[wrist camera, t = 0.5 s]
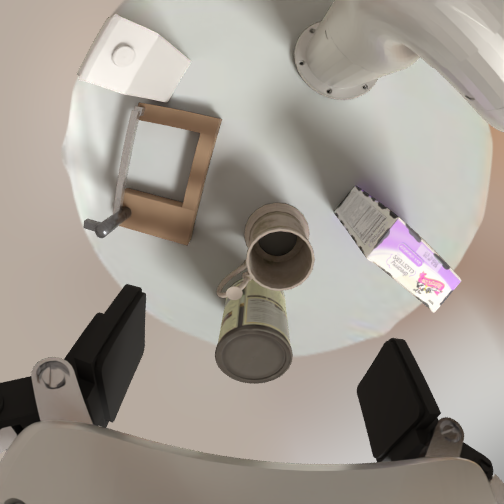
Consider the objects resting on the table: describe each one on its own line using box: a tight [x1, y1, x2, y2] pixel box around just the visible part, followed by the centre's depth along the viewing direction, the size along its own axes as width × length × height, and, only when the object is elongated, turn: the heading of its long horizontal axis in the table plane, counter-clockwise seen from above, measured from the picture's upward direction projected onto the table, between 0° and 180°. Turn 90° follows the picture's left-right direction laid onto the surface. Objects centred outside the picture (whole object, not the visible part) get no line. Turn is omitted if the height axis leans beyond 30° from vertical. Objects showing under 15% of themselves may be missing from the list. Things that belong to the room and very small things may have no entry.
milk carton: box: [77, 14, 191, 102], centre depth 28 cm, size 7×7×19 cm
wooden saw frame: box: [119, 103, 222, 245], centre depth 42 cm, size 19×12×2 cm, turn 164°
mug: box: [217, 203, 315, 300], centre depth 41 cm, size 14×10×12 cm
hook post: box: [84, 207, 132, 238], centre depth 39 cm, size 2×4×8 cm, turn 74°
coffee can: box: [215, 279, 293, 383], centre depth 45 cm, size 10×10×14 cm
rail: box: [113, 106, 145, 214], centre depth 40 cm, size 16×1×4 cm, turn 164°
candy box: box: [334, 186, 461, 313], centre depth 38 cm, size 14×6×16 cm, turn 55°
